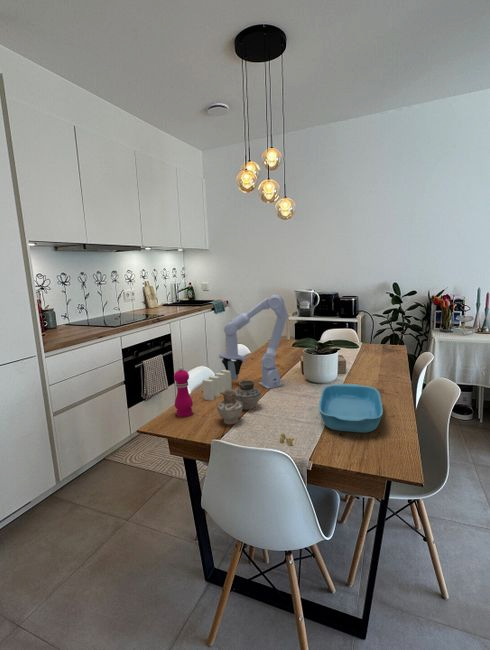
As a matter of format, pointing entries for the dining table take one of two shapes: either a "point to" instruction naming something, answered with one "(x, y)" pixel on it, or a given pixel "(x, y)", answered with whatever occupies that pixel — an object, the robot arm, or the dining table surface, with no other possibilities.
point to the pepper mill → (182, 394)
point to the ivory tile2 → (227, 379)
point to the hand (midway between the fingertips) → (233, 373)
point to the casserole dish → (351, 407)
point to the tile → (221, 381)
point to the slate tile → (232, 370)
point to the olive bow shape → (286, 439)
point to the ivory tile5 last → (208, 389)
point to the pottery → (238, 401)
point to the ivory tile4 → (216, 385)
